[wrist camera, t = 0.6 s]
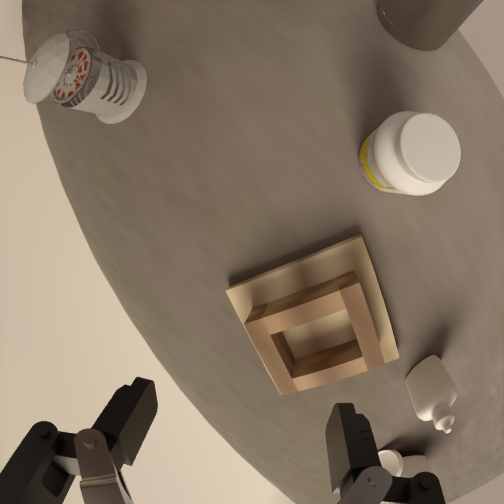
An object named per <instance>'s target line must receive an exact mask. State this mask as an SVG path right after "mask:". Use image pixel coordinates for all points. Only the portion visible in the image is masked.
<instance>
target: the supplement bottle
mask: <svg viewBox="0 0 504 504" xmlns="http://www.w3.org/2000/svg"><path fill="white" fill-rule="evenodd" d="M460 157H461V151H460V144H459V140H458V138H457V135H456V133H455V132H454V130H453V129H452V127H451V126H450V125H449V124H448V123H447V122H446V121H445V120H444V119H442V118H441V117H439V116H437V115H434V114H431V113H419V112H415V111H402V112H398V113H395V114H393V115H391V116H390V117H388V118H387V119H386V120H385V121H384V122H383V123H382V124H381V125H380V126H379V127H378V128H377V129H376V130H375V131H374V132H372V133H371V134H370V135H369V136H368V137H367V139H366V140H365V141H364V142H363V144H362V146H361V149H360V154H359V163H360V168H361V171H362V173H363V175H364V177H365V178H366V179H367V181H368V182H369V183H370V184H371V185H372V186H374V187H375V188H377V189H379V190H381V191H384V192H390V193H401V194H409V195H417V196H419V195H426V194H430V193H432V192H434V191H436V190H437V189H439V188H440V187H441V186H442V185H443V184H444V183H445V181H446V180H447V179H449V178H450V177H451V176H452V175H453V174H454V173H455V172H456V170H457V168H458V166H459V163H460Z"/></svg>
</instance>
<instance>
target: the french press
mask: <svg viewBox="0 0 504 504" xmlns="http://www.w3.org/2000/svg"><path fill="white" fill-rule="evenodd" d="M72 30H80V31H83V32H84V33H86V34H88V35H90V36H91V38H92V39H93V40H94V41H95V43H96V45H97V46H98V50H97V49H92V48H88V46H87V45H86V43H85V42H84V41H83V40H81V39H80V38H79V37H76V36H74V35H66V34H67V33H68V32H70V31H72ZM67 36H69V37H73V38H76V39H78V40H79V41H81V42H82V43H83V44H84V45H85V46H86V47H78V48H76V49H74V50H72V51H71V42H70V40H69V38H68V37H67ZM91 54H92V55H94V56H96V57H98V58H101V59H102V63H100V62H98V61H96V60H93V59H92V55H91ZM0 58H2V59H7V60H12V61H16V62H21V63H25V64H28V65H27V70H26V74H25V78H24V82H23V88H24V96H25V98H26V100H27V102H30V103H32V104H34V103H36V102H39V101H42V100H44V99H45V98H46V97H47V96H48V95H49V94H50V93H51V96H52V98H53V100H54V102H56V103H58V104H61V105H62V106H64V107H67V108H72V109H77V110H81V111H86V112H91V113H95V114H96V116H97V117H98V119H99V120H100V121H102V122H104V123H107V124H113V123H119V122H121V121H122V120H124V119H126V118H127V117H129V116H130V115H131V114H132V113H133V111H134V110H135V109H136V108H137V107H138V106H139V104H140V102H141V100H142V98H143V96H144V94H145V90H146V84H147V76H146V71H145V68H144V67H143V66H142V65H141V64H140V63H139V62H138V61H134V60H130V59H128V60H124V61H120V60H118V59H116V58H114V57H112V56H110V55H108V54H105V53H103V52H101V50H100V46H99V44H98V42H97V40H96V39H95V38H94V37H93V36H92V35H91V34H90V33H89V32H87V31H85V30H83V29H81V28H72V29H70V30H68V31H66V33H65V34H56V35H54V36H52V37H50V38H49V39H47V40H46V41H45V42H44V43H43V44H42V45H41V46H40V47H39V48H38V49H37V51H36V52H35V54H34V55H33V57H32V59H31V60H30V62H25V61H21V60H16V59H12V58H7V57H2V56H0ZM107 61H108V62H110V63H111V67H110V66H108V62H107ZM92 76H93V77H95V78H94V79H93V80H92V81H91V82H90V84H89V86H88V88H87V90H86V98H85V99H84V88H85V86H86V84H87V82H88V81H89V80H90V78H91V77H92ZM79 92H80V97H81V99H82V100H83V101H82V102H81V101H80V99H79V98H78V93H79ZM74 97H75V98H76V100H77V101H78V103H79V104H78V105H77V103H76V102H75V100H74ZM70 100H71V101H72V102H73V104H74V105H75V106H74V107H73V106H72V104H71V103H70V102H69V101H70Z"/></svg>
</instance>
